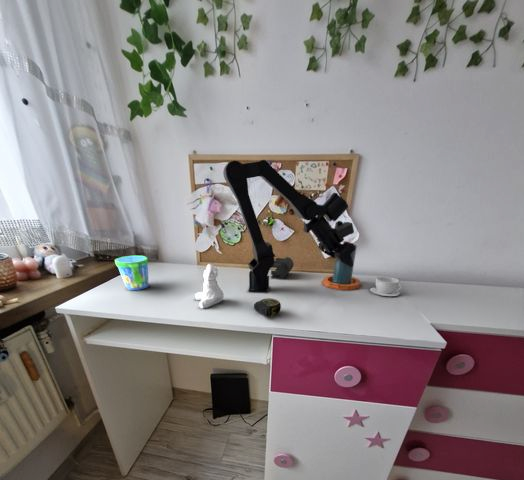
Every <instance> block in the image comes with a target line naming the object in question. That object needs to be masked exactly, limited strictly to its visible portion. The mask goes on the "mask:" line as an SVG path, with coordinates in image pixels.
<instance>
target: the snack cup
mask: <svg viewBox="0 0 524 480" xmlns="http://www.w3.org/2000/svg"><path fill="white" fill-rule="evenodd" d="M114 263H115V266H116V267H117V268H118V271H119V274H120V276H121V278H122V280H123V283H124V285H125V287H126V288H127V289H128V290H129V291H131V290H133V291H140V290H143V289H147V288H148V287H149V267H148V266H149V258H148V256H145V255H125V256H121V257H117V258H115V259H114Z"/></svg>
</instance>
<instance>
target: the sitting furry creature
mask: <svg viewBox="0 0 524 480" xmlns="http://www.w3.org/2000/svg"><path fill="white" fill-rule="evenodd" d="M218 272H219V269H218V267H216V266H215V265H214V264H211V263H208V264H206V269H204V270H203V279H204V282H203V285H202V286H203V290H202V291H199V292H197V293H195V294H194V295H195V300H196V301H199V308H200V309H207V308H210V307H212V306H214V305H217V304H220V303H221V302H222V301H223V299H224V296H225V295H224V292H223V289H221V287H220V285H219V284H218V281H217V279H216V278H217V277H218Z"/></svg>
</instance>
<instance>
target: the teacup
mask: <svg viewBox="0 0 524 480" xmlns="http://www.w3.org/2000/svg"><path fill="white" fill-rule="evenodd" d="M398 287H399V288H398ZM402 287H403V285H401V284H400V280H399V279H398V278H396V277H391V276H377V277H376V278H375V286H373V287H370V289H369V291H370V292H371V293H373V294H375V295H379V296H383V297H396V296H397V297H398V296H400V294H401V292H400V290H402ZM397 288H398V289H397Z"/></svg>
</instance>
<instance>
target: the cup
mask: <svg viewBox="0 0 524 480" xmlns="http://www.w3.org/2000/svg"><path fill="white" fill-rule="evenodd" d="M354 245H355V247H356V249H355V250H354V251H353V252H352V253H351V257H352V260H353V264H354V265H353V266H352V267H350V266H348V265H346V264H344V263H342V262H340V261H339V260H337V258H336V257H335V258H334V264H333V272H332V275H333V279H332V280H331V282H332V283H337V284H352V282H351V279H352V277H353V272H354V266H355V261H356V260H355V259H356V253H357V248H358V245H357V244H354Z"/></svg>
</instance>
